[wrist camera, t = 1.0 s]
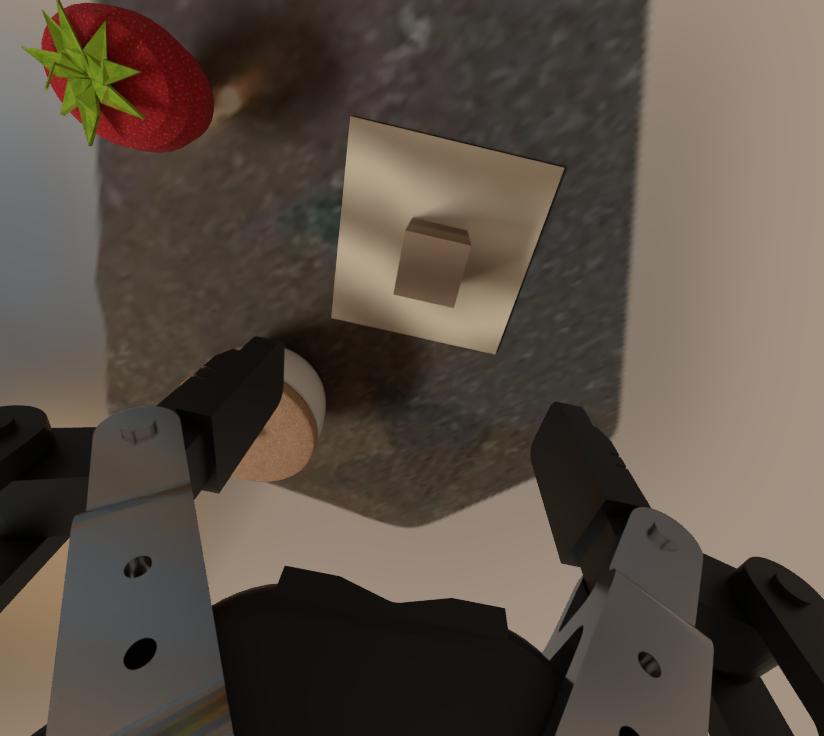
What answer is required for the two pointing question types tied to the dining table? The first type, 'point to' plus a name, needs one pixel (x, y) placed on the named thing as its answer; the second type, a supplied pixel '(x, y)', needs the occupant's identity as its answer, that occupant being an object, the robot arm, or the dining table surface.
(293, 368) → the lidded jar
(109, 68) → the strawberry
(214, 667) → the robot arm
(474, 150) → the lid
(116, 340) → the dining table surface
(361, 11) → the dining table surface
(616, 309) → the dining table surface
